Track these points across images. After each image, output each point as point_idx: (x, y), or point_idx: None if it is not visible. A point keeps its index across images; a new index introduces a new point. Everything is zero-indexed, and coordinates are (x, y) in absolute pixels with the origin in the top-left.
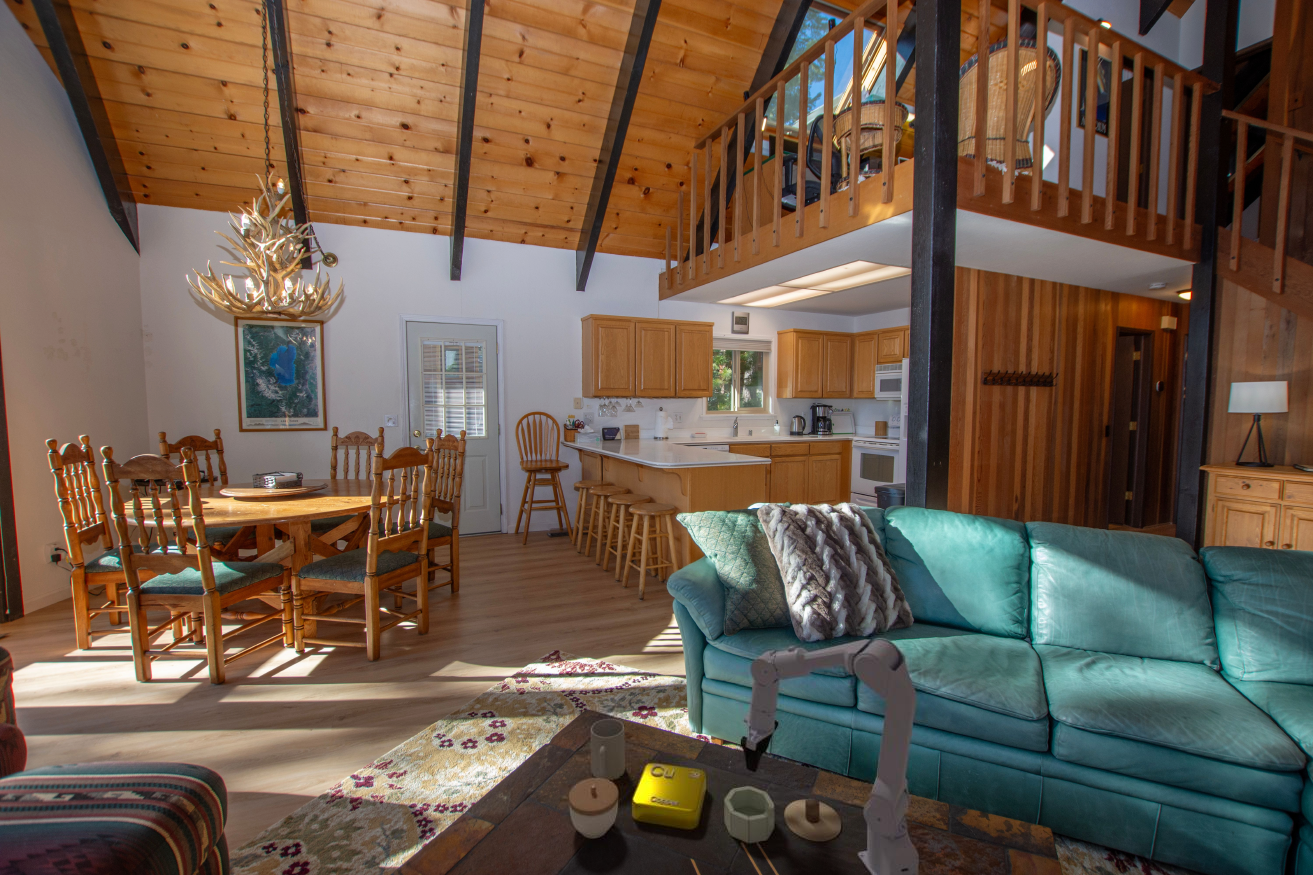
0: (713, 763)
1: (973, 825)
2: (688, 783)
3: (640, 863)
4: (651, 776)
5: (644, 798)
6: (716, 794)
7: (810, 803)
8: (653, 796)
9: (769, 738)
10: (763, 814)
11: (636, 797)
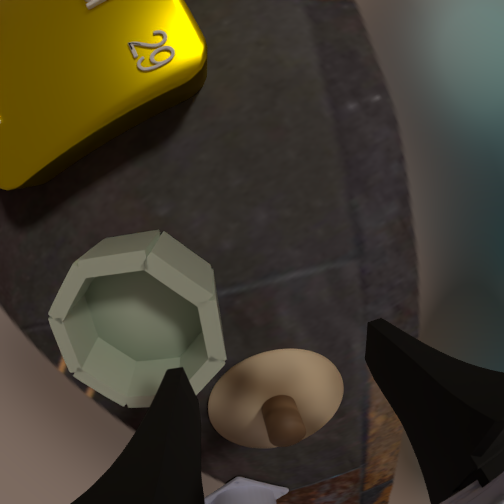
0: (333, 53)
1: (382, 493)
2: (94, 67)
3: None
4: None
5: None
6: (194, 140)
7: (283, 433)
8: None
9: (406, 428)
10: (125, 396)
11: None
